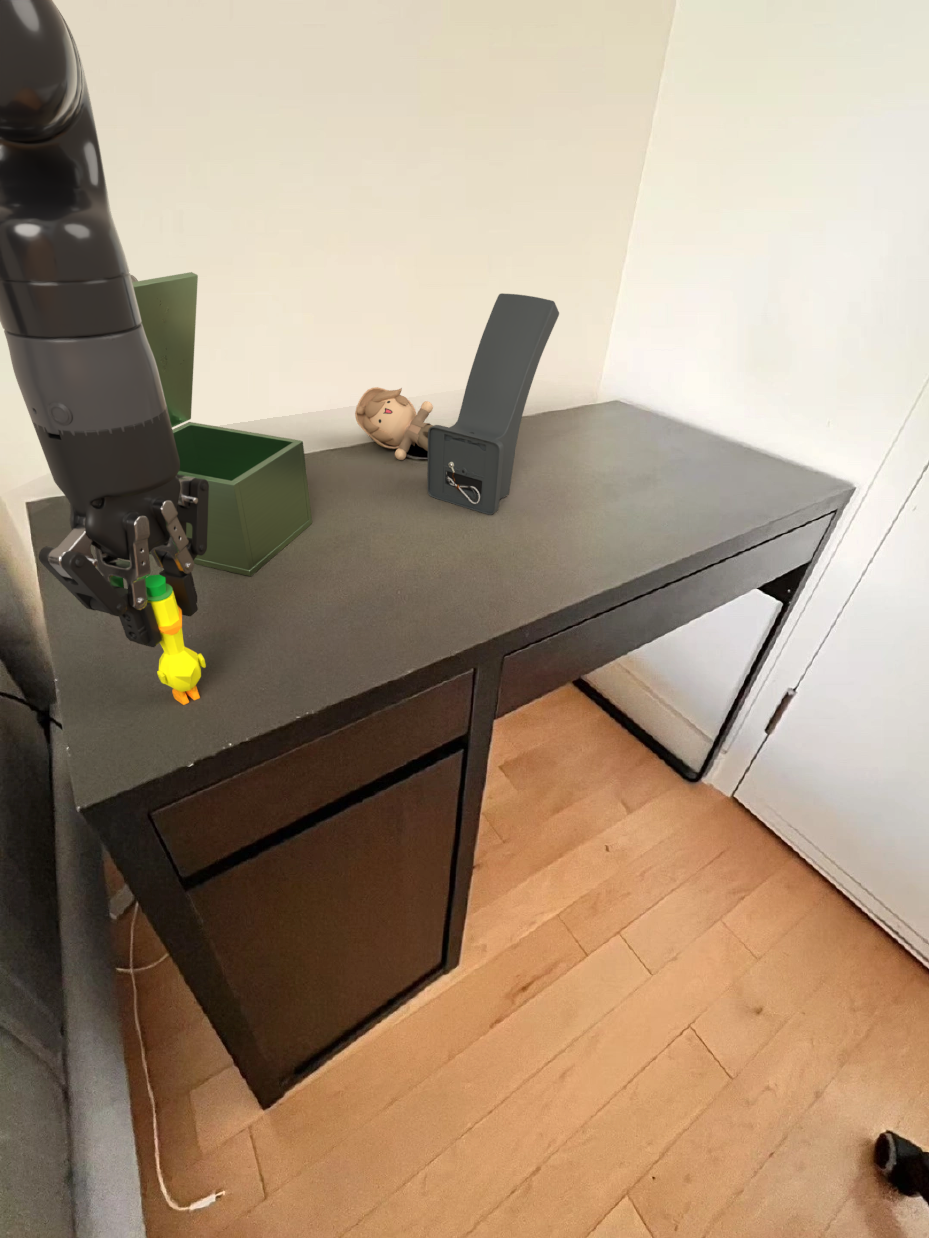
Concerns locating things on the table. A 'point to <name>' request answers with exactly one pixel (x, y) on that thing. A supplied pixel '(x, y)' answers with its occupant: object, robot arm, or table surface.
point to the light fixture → (491, 407)
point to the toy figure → (173, 642)
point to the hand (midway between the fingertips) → (166, 626)
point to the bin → (246, 493)
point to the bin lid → (171, 335)
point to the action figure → (393, 420)
